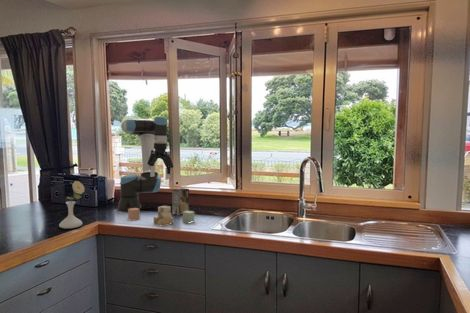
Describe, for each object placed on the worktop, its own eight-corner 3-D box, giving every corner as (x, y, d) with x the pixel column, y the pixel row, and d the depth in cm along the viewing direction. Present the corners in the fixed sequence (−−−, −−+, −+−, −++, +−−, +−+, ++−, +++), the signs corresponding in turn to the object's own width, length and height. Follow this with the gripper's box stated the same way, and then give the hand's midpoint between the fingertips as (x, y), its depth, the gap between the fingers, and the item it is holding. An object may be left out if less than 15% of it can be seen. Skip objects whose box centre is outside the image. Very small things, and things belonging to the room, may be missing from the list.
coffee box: (182, 211, 215) (182, 187, 214) (189, 213, 211) (189, 188, 210) (171, 214, 208) (171, 189, 207) (178, 215, 204) (178, 190, 203)
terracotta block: (128, 218, 195) (128, 208, 195) (135, 217, 198) (135, 207, 198) (131, 220, 191) (131, 210, 191) (139, 219, 195) (139, 209, 194)
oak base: (153, 223, 185) (153, 217, 185) (165, 221, 191) (165, 214, 191) (160, 226, 180) (160, 219, 179) (173, 224, 185) (173, 217, 185)
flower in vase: (65, 231, 167) (64, 183, 165) (55, 227, 173) (54, 181, 172) (89, 226, 177) (89, 181, 175) (79, 222, 184) (78, 179, 182)
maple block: (158, 217, 184) (158, 207, 184) (164, 215, 189) (164, 205, 188) (164, 218, 182) (164, 208, 181) (170, 216, 186) (170, 206, 186)
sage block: (182, 222, 189) (182, 212, 188) (186, 220, 193) (186, 210, 193) (190, 223, 187) (190, 213, 186) (194, 221, 191) (194, 211, 191)
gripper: (141, 141, 197) (141, 176, 199) (170, 144, 182) (169, 181, 184) (151, 141, 203) (151, 174, 205) (179, 143, 188) (179, 179, 190)
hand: (159, 178), depth 195 cm, fingers open, 13 cm apart
